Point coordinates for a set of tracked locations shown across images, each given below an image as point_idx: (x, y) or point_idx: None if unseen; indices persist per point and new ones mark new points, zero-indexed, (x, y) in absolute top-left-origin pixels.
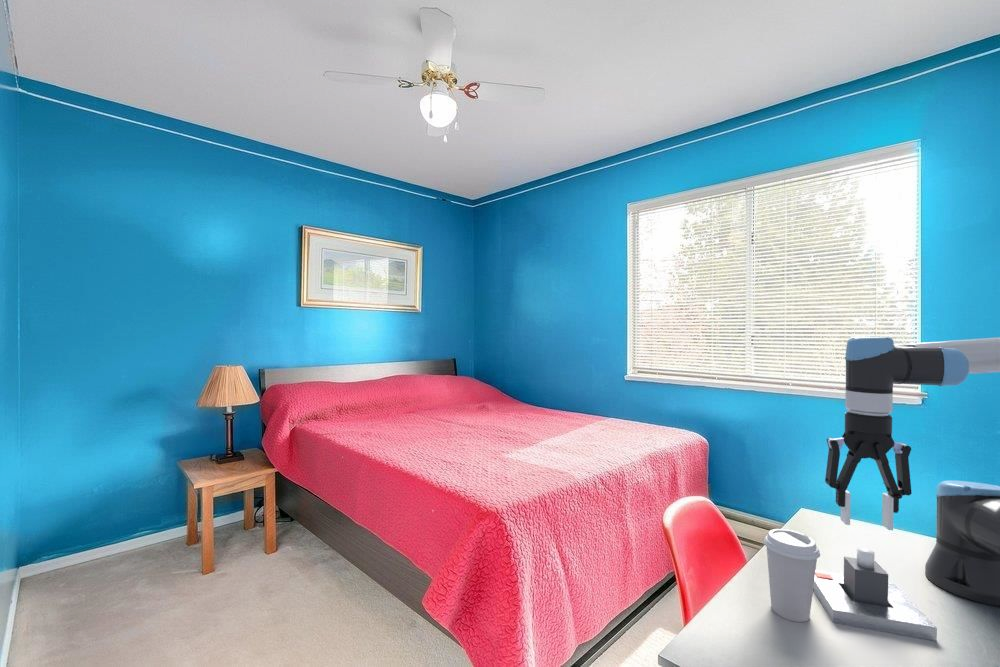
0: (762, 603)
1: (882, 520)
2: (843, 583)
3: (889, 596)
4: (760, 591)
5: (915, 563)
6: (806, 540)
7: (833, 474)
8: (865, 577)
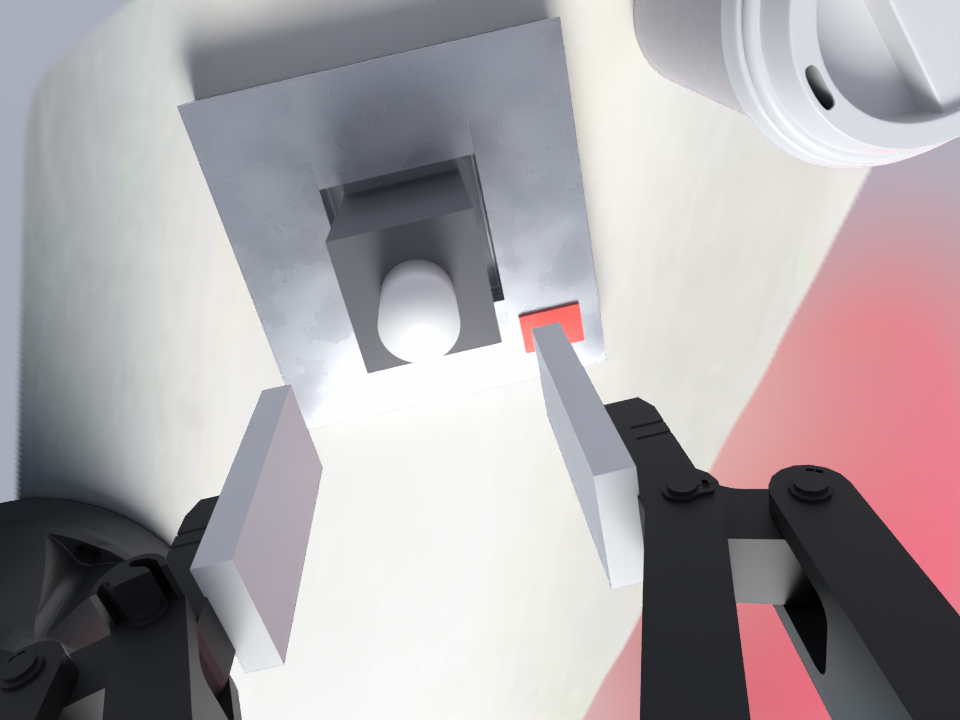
0: None
1: (316, 480)
2: None
3: (326, 291)
4: None
5: None
6: (810, 66)
7: (892, 593)
8: (424, 211)
